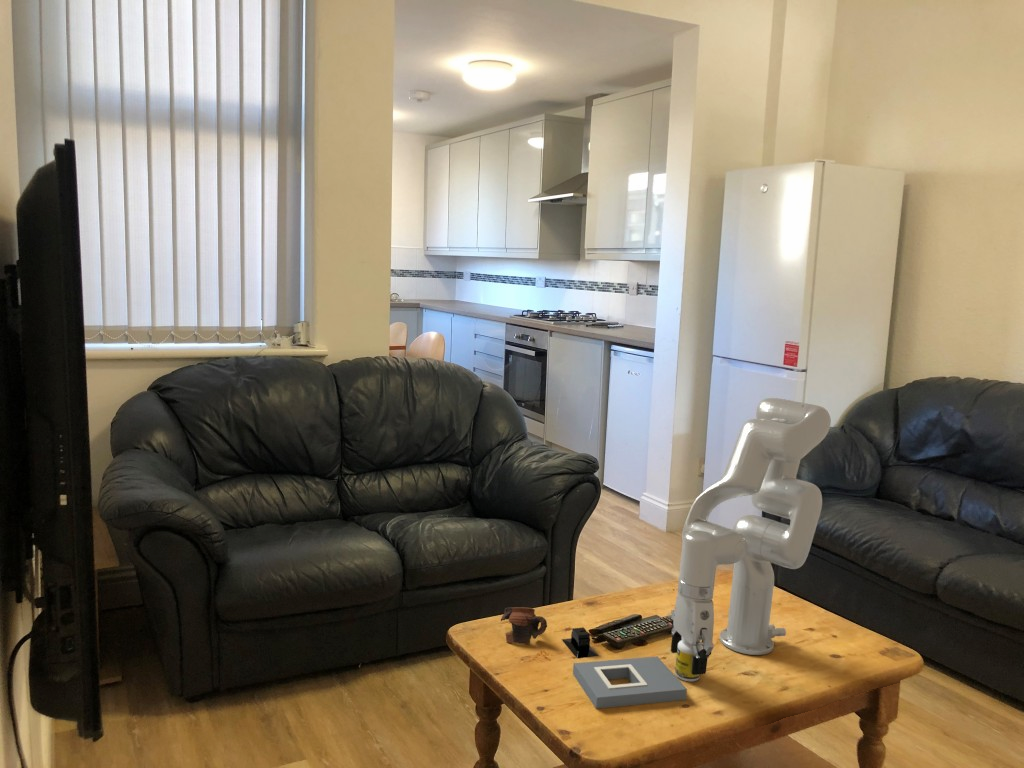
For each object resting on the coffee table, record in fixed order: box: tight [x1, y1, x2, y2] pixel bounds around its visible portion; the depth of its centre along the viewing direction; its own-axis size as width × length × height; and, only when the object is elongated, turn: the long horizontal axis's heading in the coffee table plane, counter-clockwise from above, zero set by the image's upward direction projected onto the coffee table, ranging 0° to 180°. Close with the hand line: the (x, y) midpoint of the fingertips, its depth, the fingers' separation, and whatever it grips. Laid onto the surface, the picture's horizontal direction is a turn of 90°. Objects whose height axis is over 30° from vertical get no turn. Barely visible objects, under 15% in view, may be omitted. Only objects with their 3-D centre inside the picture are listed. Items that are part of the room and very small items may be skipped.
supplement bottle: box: [674, 637, 703, 682], centre depth 175 cm, size 5×5×10 cm
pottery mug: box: [500, 606, 548, 645], centre depth 190 cm, size 12×10×8 cm
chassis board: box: [572, 655, 688, 710], centre depth 170 cm, size 20×14×3 cm
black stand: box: [561, 627, 600, 660], centre depth 186 cm, size 12×7×5 cm, turn 19°
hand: (687, 662), depth 175 cm, fingers open, 9 cm apart
